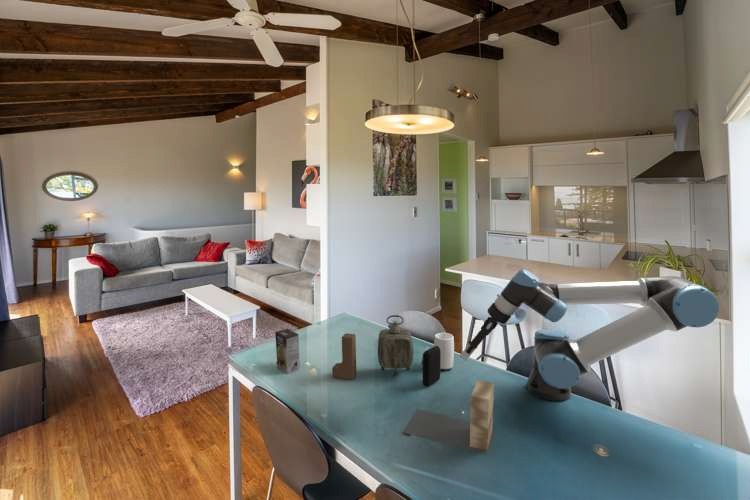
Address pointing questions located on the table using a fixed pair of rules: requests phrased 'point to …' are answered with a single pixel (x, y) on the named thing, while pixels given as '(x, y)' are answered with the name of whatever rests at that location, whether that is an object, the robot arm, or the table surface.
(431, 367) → the carrying case or bag
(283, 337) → the coffee box
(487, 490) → the table surface
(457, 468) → the table surface
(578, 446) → the table surface
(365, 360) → the table surface
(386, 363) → the tabletop clock
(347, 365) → the wooden block
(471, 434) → the slab
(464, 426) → the mat
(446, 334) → the cup
